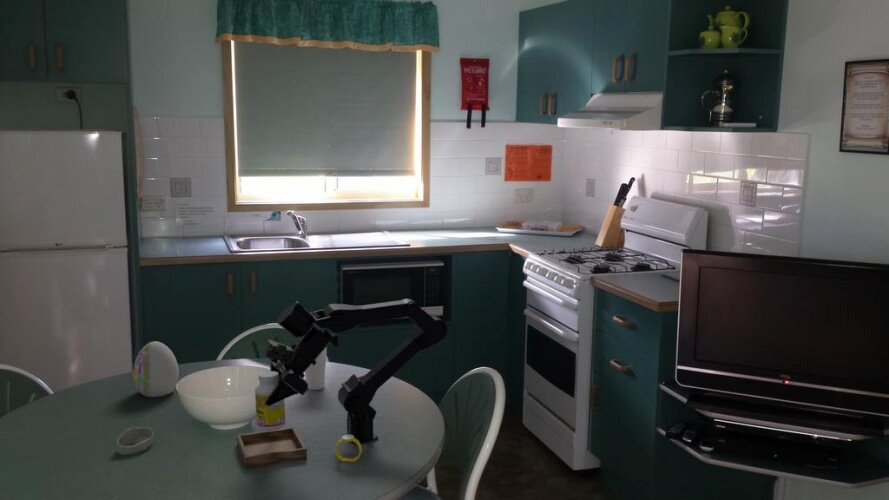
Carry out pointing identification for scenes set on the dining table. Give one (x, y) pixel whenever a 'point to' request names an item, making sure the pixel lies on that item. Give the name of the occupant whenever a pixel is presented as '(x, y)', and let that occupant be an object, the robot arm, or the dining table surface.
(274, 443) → the walnut tray
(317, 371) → the drinking glass
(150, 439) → the grey hollow oval piece
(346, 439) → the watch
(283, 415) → the supplement bottle
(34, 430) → the dining table surface
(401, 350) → the robot arm
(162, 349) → the decorative egg
